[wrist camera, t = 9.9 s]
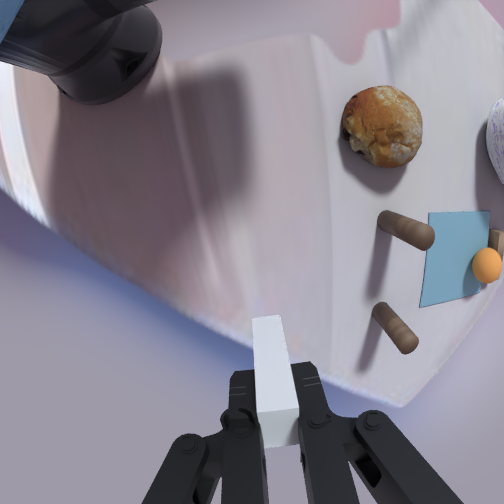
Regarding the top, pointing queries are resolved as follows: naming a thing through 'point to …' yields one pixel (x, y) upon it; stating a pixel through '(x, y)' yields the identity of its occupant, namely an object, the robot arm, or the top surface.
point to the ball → (487, 265)
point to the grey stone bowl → (496, 137)
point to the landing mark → (453, 255)
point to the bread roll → (383, 126)
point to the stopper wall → (496, 242)
